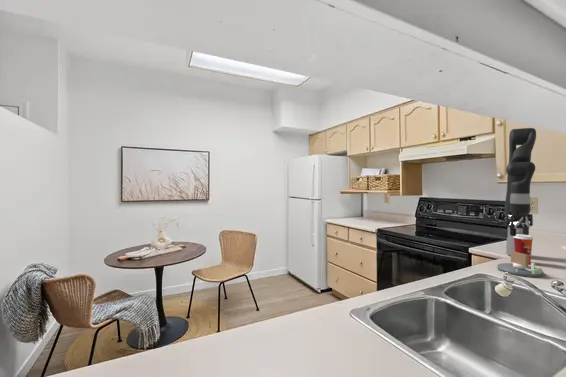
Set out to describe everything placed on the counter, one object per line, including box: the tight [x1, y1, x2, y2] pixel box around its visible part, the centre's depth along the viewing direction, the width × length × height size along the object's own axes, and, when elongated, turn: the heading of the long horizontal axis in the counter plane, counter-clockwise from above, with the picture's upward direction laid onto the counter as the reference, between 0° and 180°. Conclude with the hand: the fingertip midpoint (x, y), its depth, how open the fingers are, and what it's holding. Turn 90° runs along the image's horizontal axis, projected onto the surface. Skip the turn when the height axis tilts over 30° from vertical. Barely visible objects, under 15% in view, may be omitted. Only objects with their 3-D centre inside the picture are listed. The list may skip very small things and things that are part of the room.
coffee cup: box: [513, 234, 534, 265], centre depth 146 cm, size 8×8×15 cm
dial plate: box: [496, 262, 544, 279], centre depth 131 cm, size 17×17×4 cm
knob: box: [510, 252, 536, 271], centre depth 130 cm, size 10×5×7 cm, turn 9°
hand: (519, 235), depth 131 cm, fingers open, 8 cm apart
